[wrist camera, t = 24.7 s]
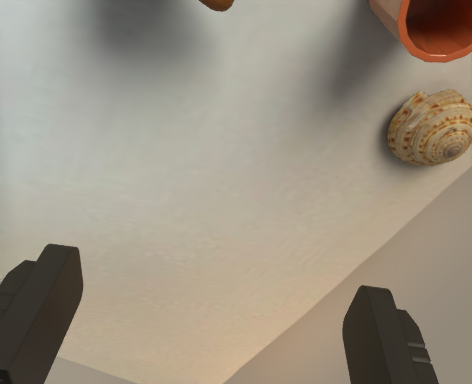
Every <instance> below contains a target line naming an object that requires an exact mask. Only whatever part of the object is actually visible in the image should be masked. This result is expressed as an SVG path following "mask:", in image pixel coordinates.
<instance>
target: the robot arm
mask: <svg viewBox="0 0 472 384" xmlns="http://www.w3.org/2000/svg"><path fill="white" fill-rule="evenodd" d="M82 292H83V277H82V269H81V261H80V254H79V249H78V248H77V247H72V246H64V245H57V244H48V245H47V246H46V247H45V248H44V250H43V251H42V253H41V255H40V256H39V258H38V260H37V261H29V260H25V261H23V262H22V263H21V264H19V265H18V266H17V267H15V268H14V269H13V270H12V271H10V272H9V273H8V274H7V275H6V277H5V278H4V280H3V281H2V283H1V284H0V384H44V382H45V380H46V378H47V375H48V373H49V371H50V369H51V366H52V364H53V362H54V359H55V357H56V355H57V353H58V351H59V348H60V346H61V344H62V342H63V339H64V337H65V335H66V333H67V331H68V328H69V326H70V324H71V322H72V319H73V317H74V315H75V313H76V310H77V308H78V306H79V303H80V301H81V297H82ZM342 331H343V342H344V347H345V353H346V359H347V364H348V369H349V375H350V381H351V384H439V383H438V380H437V377H436V374H435V371H434V369H433V366H432V364H430V361H431V360H430V357H429V355H428V352H427V349H425V343H424V341H423V338H422V335H421V332H420V330H419V327H418V326H417V324H416V323H415V322H414V320H413V319H412V318H411V317H410V315H409V314H408V313H407V311H406V310H399V309H397V308H396V306H395V303H394V299H393V296H392V294H391V292H390V290H389V289H386V288H378V287H371V286H364V285H362V286H360V287H359V289H358V291H357V293H356V295H355V297H354V299H353V301H352V303H351V305H350V307H349V309H348V311H347V313H346V315H345V318H344V321H343V330H342Z"/></svg>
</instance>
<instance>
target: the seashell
mask: <svg viewBox="0 0 472 384" xmlns="http://www.w3.org/2000/svg"><path fill="white" fill-rule="evenodd" d="M398 112H399V113H398ZM398 112H397V113H396V115H395V116H394V118H393V119H392V121H391V124H390V126H389V130H388V145H389V147H390V149H391V151H392V152H393V153H394V154H395V155H396V156H397V157H398V158H399V159H401V160H402V161H404V162H406V163H409V164H412V165H417V166H433V165H438V164H442V163H446V162H449V161H452V160H454V159H456V158H458V157H459V156H461V155H462V154H463V153H464V152H465V151H466V150H467V149H468V148H469V146H470V145H471V144H472V105H470V104H469V103H467V101H466V99H464V98H463V96H462V95H461V94H459V93H457V92H456V91H455V90H450V89H448V90H446V91H441V92H439V93H437V94H434V95H431V96H429V95H427V94H426V93H424V92H422V91H420V92H418V93H417V94H415V95H414V96H412V97H411V98H410V99H408V101H407V102H406V103H404V105H403V106H402V108H401V110H400V111H398Z"/></svg>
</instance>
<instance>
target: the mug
mask: <svg viewBox="0 0 472 384" xmlns="http://www.w3.org/2000/svg"><path fill="white" fill-rule="evenodd" d="M199 1H200V2H202V3H203V4H204V5H206V6H207V7H209V8H210V9H212V10H214V11H221V12H223V11H226V10H228V9H229V8H230V7H231V6H232V4H233V2H234V0H199Z"/></svg>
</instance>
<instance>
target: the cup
mask: <svg viewBox="0 0 472 384" xmlns="http://www.w3.org/2000/svg"><path fill="white" fill-rule="evenodd" d="M368 3H369V5H370V8H371V9H372V11H373V12H374V13H375V15H376V16H377V17H378V19H379V20H380V21H381V22H382V23H383V24H384V25H385V27H386V28H387V29H388V30H389V31H390V32H391V33H392V34H393V35H394V37H395V38H396V39H397V40H398V41H399V42H400V43H401V44H402V45H403V47H404V48H405V49H406V50H407V51H408V52H409V53H410V54H411V55H413V56H415V57H417V58H419V59H421V60H423V61H425V62H441V63H445V62H449V61H452V60H455V59H458V58H461V57H464V56H466V55H468V54H469V53H471V52H472V0H368Z"/></svg>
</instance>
